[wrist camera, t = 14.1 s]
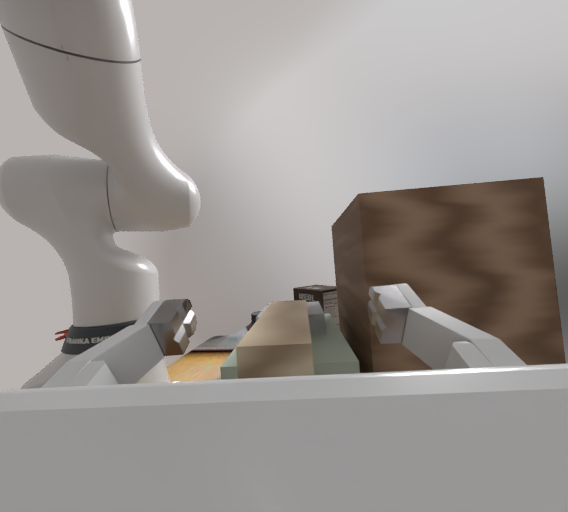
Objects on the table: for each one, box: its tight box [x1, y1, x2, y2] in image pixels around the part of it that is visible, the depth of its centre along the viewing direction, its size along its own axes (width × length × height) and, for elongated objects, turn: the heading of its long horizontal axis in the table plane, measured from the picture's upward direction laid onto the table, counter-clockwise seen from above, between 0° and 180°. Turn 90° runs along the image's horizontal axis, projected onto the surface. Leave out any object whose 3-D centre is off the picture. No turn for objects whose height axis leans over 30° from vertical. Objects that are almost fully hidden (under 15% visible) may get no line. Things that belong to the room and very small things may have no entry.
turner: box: [236, 300, 326, 379], centre depth 21 cm, size 7×21×4 cm, turn 176°
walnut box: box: [332, 177, 566, 373], centre depth 26 cm, size 14×16×26 cm
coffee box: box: [293, 285, 340, 330], centre depth 45 cm, size 9×6×16 cm
